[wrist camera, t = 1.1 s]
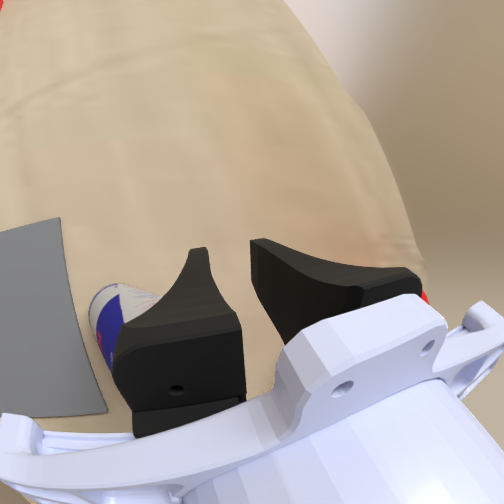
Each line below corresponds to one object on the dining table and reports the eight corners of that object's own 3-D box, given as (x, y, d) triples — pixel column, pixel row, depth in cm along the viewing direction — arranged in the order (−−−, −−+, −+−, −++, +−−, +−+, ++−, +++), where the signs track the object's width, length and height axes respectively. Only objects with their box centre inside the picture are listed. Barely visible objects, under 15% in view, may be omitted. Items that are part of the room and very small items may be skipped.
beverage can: (85, 284, 20) (110, 317, 8) (144, 281, 24) (243, 301, 12) (92, 348, 20) (137, 447, 8) (150, 341, 23) (249, 412, 12)
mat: (108, 410, 21) (107, 412, 21) (-10, 414, 15) (-11, 415, 15) (60, 217, 21) (58, 217, 20) (-54, 250, 15) (-56, 250, 14)
